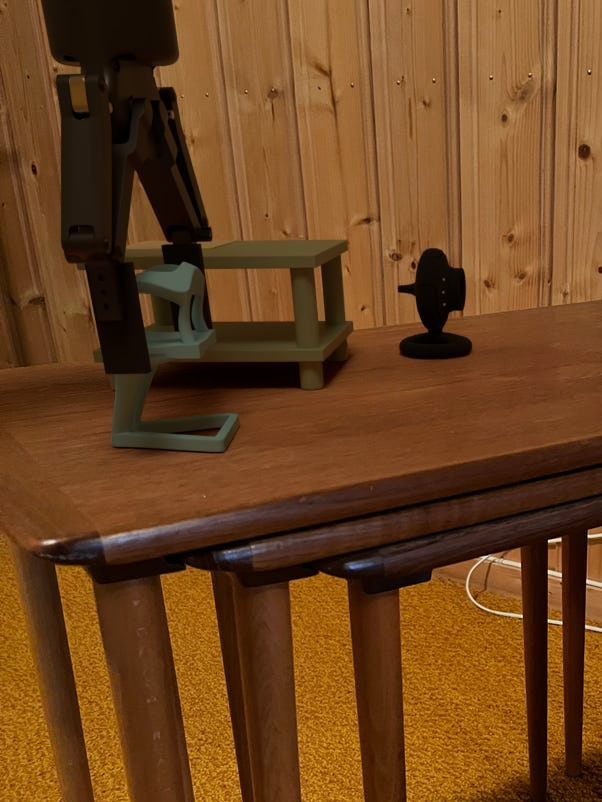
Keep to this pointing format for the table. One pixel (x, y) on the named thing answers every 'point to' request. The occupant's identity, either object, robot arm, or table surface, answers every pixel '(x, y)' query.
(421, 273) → the webcam
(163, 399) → the table surface
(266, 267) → the shelf
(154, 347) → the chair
